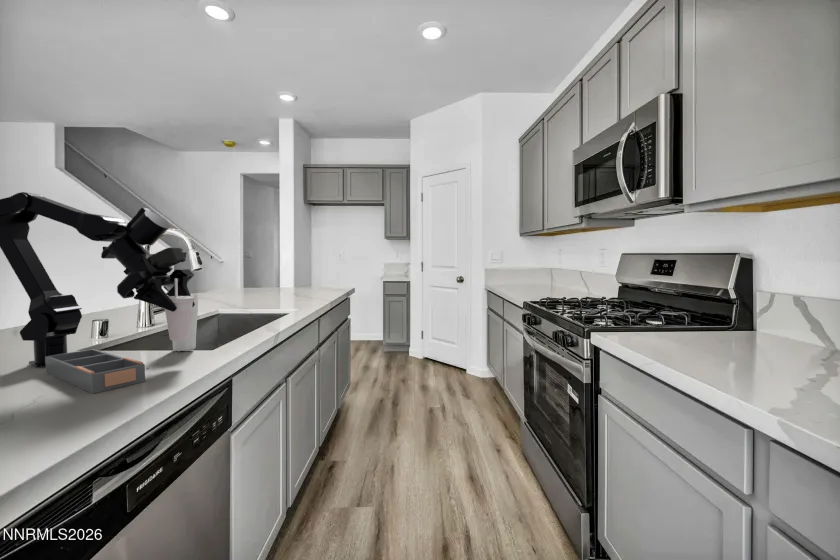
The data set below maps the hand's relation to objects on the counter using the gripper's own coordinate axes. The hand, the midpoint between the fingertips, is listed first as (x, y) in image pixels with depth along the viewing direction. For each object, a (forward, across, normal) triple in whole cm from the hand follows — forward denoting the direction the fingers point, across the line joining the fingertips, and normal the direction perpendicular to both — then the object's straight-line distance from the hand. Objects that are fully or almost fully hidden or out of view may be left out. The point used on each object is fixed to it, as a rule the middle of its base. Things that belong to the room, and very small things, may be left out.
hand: (184, 308), depth 92 cm
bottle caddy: (0, -10, +19) cm, 21 cm away
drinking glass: (+3, +15, +16) cm, 22 cm away
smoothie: (+4, 0, +6) cm, 7 cm away
